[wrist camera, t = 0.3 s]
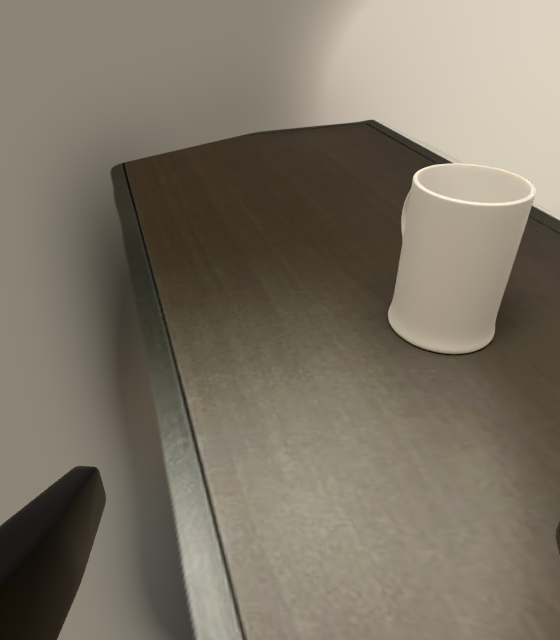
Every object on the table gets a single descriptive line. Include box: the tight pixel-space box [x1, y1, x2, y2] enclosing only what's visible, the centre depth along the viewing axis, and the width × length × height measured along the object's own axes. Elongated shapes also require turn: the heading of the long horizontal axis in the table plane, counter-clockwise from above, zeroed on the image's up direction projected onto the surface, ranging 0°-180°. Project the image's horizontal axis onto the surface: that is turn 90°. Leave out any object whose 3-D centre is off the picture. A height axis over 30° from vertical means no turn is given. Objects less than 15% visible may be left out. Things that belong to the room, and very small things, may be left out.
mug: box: [388, 164, 536, 354], centre depth 38 cm, size 12×8×12 cm
